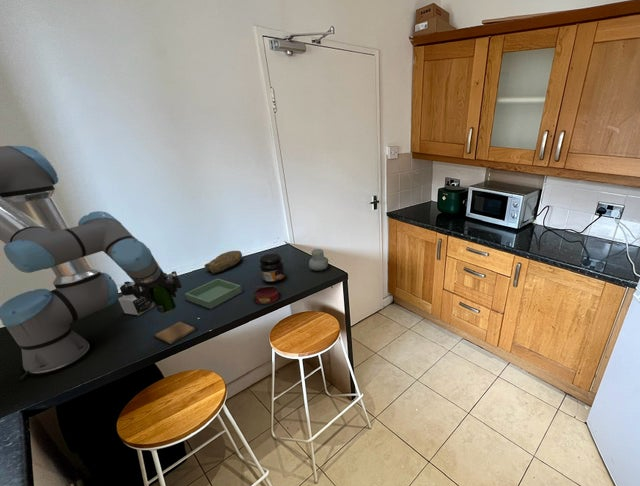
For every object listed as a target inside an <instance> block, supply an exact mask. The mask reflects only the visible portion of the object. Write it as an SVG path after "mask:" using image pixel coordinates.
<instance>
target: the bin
mask: <svg viewBox="0 0 640 486" xmlns="http://www.w3.org/2000/svg"><path fill="white" fill-rule="evenodd" d="M241 293H243V289H242V285H240V284H237V283H234V282H230V281H227V280H225V279H221V278H215V279H213V280H211V281H209V282H207V283H205V284H203V285H200V286H198V287H196V288H194V289H192V290H190V291H188V292H185V293H184V296H185V298H186V301H188V302H190V303H193V304H196V305H199V306H201V307H204V308H206V309H210V310H212V309H214V308H215V307H217V306H219V305H221V304H223V303H225V302H227V301H228V300H230V299H232V298H234V297H235V296H237V295H239V294H241Z"/></svg>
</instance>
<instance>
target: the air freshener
mask: <svg viewBox="0 0 640 486" xmlns="http://www.w3.org/2000/svg"><path fill="white" fill-rule="evenodd" d="M324 254H325V253H324V250H323V249H322V248H315V249H313V250H311V258H310V260H309V262H308V267H309V269H311V270H312V271H316V272H320V271H321V272H322V271H324V270H326V269H327V268H328V266H329V258H328V257H325V255H324Z"/></svg>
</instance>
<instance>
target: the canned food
mask: <svg viewBox="0 0 640 486" xmlns="http://www.w3.org/2000/svg"><path fill="white" fill-rule="evenodd" d="M251 289H252V290H255V291H254V292H253V296H254V301H255V302H256V303H257V304H261V305H266V304H271V303H274V302H276V301H277V300H278V299H279V298H280V293H279V288H277V285H265V284H264V285H263V284H262V285H254V286H253V287H252V288H251Z"/></svg>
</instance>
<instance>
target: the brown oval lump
mask: <svg viewBox="0 0 640 486" xmlns="http://www.w3.org/2000/svg"><path fill="white" fill-rule="evenodd" d="M242 258H243V253H242V251H240V250H229V251H226V252H224V253H220V254H219V255H218V256H216V258H214V259H212V260H210V261H209V262H207V263H205V264H204V268H205V269H206V271H209V272H211V273H212V275H214V274H218V273H220V272H224V270H226V269H229V268H232V267H233V266H235V265H237V263H240V261H241V259H242Z"/></svg>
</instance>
